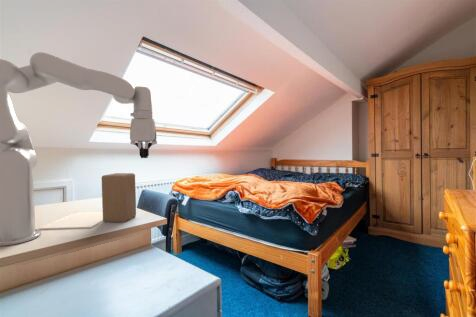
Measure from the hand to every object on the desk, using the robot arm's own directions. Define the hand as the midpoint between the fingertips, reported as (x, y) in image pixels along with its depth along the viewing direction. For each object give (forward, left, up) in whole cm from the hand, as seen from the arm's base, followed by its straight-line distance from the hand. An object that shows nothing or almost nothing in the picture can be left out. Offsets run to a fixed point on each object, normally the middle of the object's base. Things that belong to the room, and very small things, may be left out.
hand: (144, 157), depth 101 cm
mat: (-27, 0, -27) cm, 38 cm away
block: (-11, 0, -27) cm, 29 cm away
